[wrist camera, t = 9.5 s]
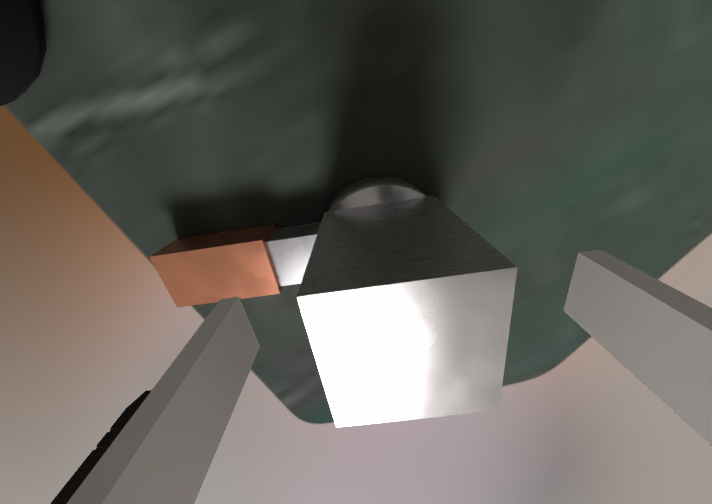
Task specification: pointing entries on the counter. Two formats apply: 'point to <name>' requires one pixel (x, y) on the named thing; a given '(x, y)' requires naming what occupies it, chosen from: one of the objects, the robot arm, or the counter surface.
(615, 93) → the counter surface
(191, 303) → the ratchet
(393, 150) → the counter surface
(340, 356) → the silver metal block
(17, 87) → the coffee jar
